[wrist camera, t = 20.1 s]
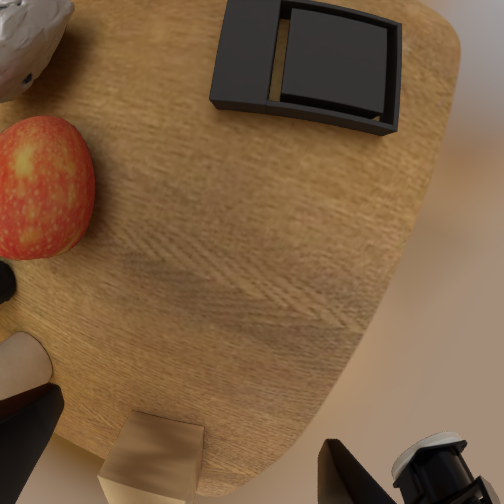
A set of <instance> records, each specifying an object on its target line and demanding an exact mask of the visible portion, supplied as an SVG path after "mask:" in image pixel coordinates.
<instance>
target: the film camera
mask: <svg viewBox="0 0 504 504" xmlns="http://www.w3.org/2000/svg"><path fill="white" fill-rule="evenodd" d="M14 292H15V277H14V275H13V272H12V270H11V269H10V267H9V266H8V265H7V264H5V263H3V262H2V261H0V304H1V303H3V302H5V301H8V300H10V298H11V297H12V296H13V294H14Z"/></svg>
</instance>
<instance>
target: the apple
mask: <svg viewBox="0 0 504 504" xmlns="http://www.w3.org/2000/svg"><path fill="white" fill-rule="evenodd" d="M94 198H95V177H94V169H93V164H92V160H91V156H90V153H89V150H88V147H87V145H86V143H85V141H84V139H83V138H82V136H81V134H80V133H79V131H78V130H77V129H76V128H75V127H74V126H73V125H72V124H70V123H69V122H67V121H66V120H64V119H62V118H57V117H52V116H35V117H31V118H28V119H25V120H22V121H20V122H17V123H15V124H14V125H12V126H10V127H9V128H7V129H6V130H5V131H3V132H2V133H1V134H0V256H2V257H4V258H7V259H12V260H16V261H19V260H32V259H40V258H49V257H53V256H58V255H61V254H63V253H65V252H67V251H68V250H70V249H71V248H73V247H74V246H75V245H76V244H77V243H78V242H79V241H80V240H81V238H82V237H83V235H84V233H85V231H86V228H87V226H88V224H89V221H90V218H91V215H92V211H93V206H94Z"/></svg>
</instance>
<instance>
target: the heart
mask: <svg viewBox="0 0 504 504" xmlns="http://www.w3.org/2000/svg"><path fill="white" fill-rule="evenodd" d="M74 10H75V9H74V4H73V3H72V2H71V1H69V0H0V103H4V102H8V101H11V100H14V99H15V98H17V97H18V96H20V95H21V94H22V93H24V92H25V91H26V90H27V89H28V88H30V86H31V85H32V83H33V81H34V79H36V78H38V77H39V76H40V74H41V72H42V71H43V70H44V69H45V68H46V67H47V65H48V63H49V61H50V59H51V57H52V55H53V53H54V51H55V50H56V48H57V46H58V44H59V42H60V40H61V38H62V36H63V33H64V31H65V28H66V25H67V23H68V21H69V19H70V17H71V15H72V13H73V12H74ZM32 86H33V85H32Z"/></svg>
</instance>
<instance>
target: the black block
mask: <svg viewBox="0 0 504 504" xmlns="http://www.w3.org/2000/svg"><path fill="white" fill-rule="evenodd" d="M386 58H387V29H385V28H382V27H378V26H375V25H371V24H367V23H364V22H360V21H356V20H352V19H348V18H343V17H339V16H334V15H329V14H324V13H319V12H313V11H307V10H301V9H294V8H292V10H291V18H290V25H289V33H288V41H287V49H286V57H285V64H284V72H283V80H282V88H281V95H280V102H284V103H291V104H297V105H303V106H309V107H315V108H320V109H326V110H331V111H336V112H340V113H345V114H350V115H354V116H358V117H363V118H367V119H373V118H375V117H377V116H379V115H381V114H383V109H384V96H385V81H386Z"/></svg>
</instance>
